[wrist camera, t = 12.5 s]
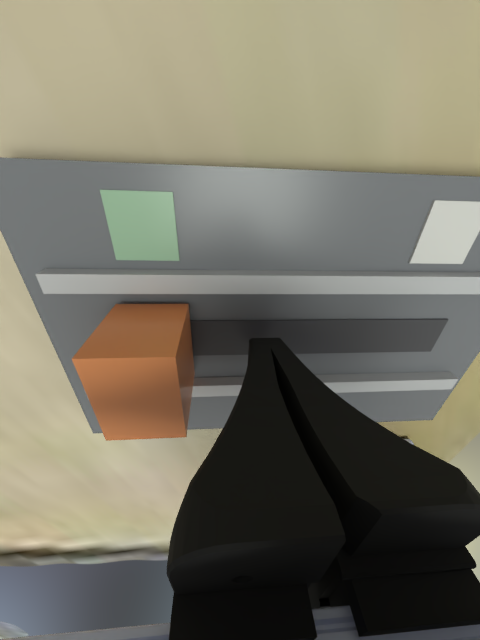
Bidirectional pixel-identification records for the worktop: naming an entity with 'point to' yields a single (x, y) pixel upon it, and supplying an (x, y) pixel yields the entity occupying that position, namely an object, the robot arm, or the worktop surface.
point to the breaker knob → (140, 371)
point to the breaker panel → (260, 271)
